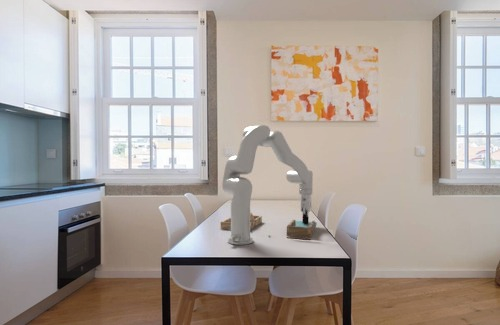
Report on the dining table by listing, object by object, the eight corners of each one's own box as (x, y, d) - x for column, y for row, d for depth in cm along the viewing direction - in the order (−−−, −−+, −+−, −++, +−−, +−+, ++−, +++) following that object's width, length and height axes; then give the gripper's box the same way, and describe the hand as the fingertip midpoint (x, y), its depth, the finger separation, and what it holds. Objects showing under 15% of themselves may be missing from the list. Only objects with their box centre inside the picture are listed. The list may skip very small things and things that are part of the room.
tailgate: (314, 230, 168) (316, 222, 175) (293, 228, 172) (295, 220, 179) (314, 231, 169) (316, 224, 176) (293, 230, 173) (296, 222, 180)
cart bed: (310, 240, 151) (310, 228, 151) (286, 238, 155) (286, 226, 155) (314, 232, 168) (314, 221, 168) (293, 230, 172) (293, 219, 172)
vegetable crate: (248, 231, 170) (248, 224, 170) (220, 228, 175) (220, 222, 175) (261, 222, 194) (261, 216, 194) (237, 220, 200) (237, 214, 200)
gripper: (310, 193, 167) (310, 226, 167) (314, 190, 181) (313, 221, 181) (296, 192, 169) (296, 225, 169) (301, 190, 183) (301, 220, 184)
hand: (305, 223), depth 175 cm, fingers closed
